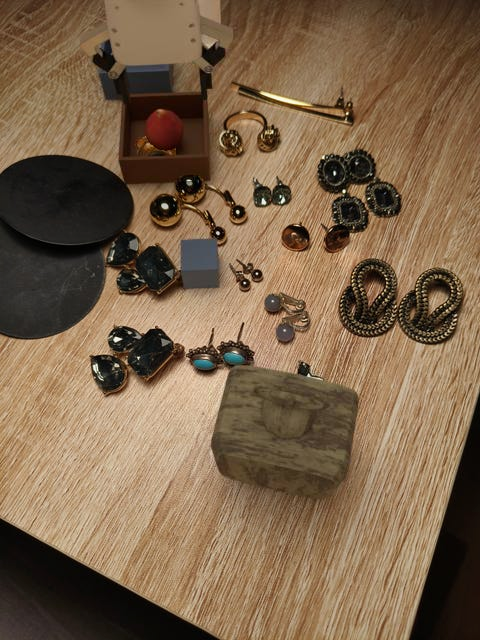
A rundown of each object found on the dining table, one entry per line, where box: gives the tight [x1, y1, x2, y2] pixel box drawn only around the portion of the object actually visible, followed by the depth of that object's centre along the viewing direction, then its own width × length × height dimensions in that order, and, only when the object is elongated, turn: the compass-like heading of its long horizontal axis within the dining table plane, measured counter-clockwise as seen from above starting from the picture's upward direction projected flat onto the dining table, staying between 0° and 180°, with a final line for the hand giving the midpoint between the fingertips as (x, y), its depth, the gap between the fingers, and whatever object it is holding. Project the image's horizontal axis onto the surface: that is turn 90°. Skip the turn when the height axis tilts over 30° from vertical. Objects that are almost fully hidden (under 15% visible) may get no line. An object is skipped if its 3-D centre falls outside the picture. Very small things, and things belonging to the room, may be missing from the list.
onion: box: [145, 109, 184, 151], centre depth 91 cm, size 6×6×8 cm
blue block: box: [180, 237, 220, 290], centre depth 83 cm, size 5×5×5 cm
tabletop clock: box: [210, 364, 360, 500], centre depth 62 cm, size 14×9×25 cm, turn 77°
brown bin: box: [117, 91, 211, 185], centre depth 93 cm, size 13×13×6 cm
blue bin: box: [98, 39, 174, 101], centre depth 100 cm, size 11×11×6 cm
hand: (165, 94), depth 74 cm, fingers open, 9 cm apart
